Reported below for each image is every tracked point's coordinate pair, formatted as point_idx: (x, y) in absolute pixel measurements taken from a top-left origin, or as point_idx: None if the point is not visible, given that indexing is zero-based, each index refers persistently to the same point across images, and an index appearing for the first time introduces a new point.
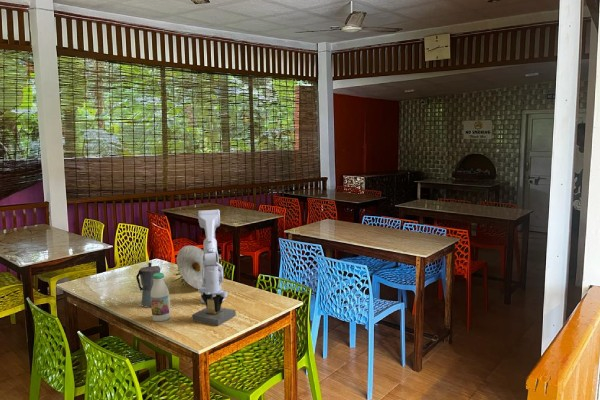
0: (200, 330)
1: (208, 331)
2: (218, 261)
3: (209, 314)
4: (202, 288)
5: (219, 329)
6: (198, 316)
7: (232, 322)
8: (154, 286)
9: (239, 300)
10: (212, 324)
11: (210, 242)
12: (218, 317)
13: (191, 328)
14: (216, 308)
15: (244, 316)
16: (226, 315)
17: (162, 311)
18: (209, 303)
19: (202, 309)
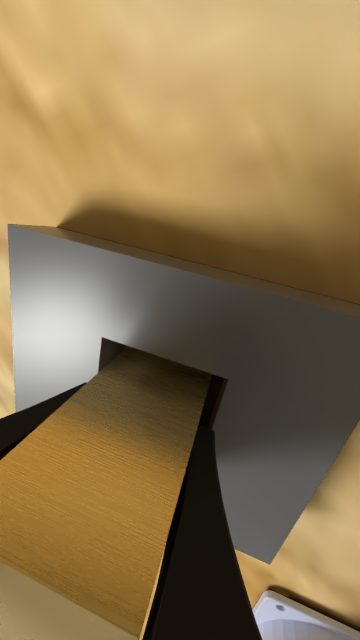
0: (155, 57)
1: (65, 69)
2: None
3: (185, 378)
4: None
5: (8, 158)
6: (286, 297)
7: (7, 314)
8: None
9: (149, 610)
10: (111, 241)
11: None
12: (44, 295)
13: (293, 70)
14: (45, 400)
15: (2, 409)
16: (13, 351)
17: None
18: (117, 494)
19: (317, 487)
